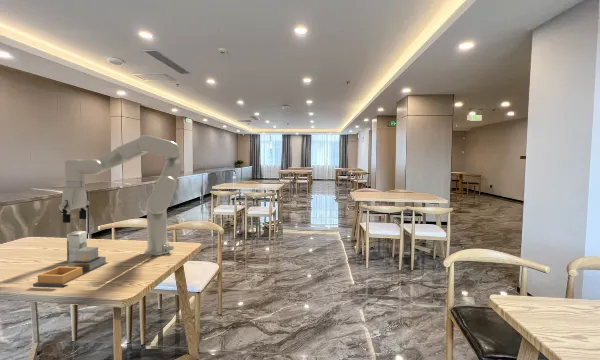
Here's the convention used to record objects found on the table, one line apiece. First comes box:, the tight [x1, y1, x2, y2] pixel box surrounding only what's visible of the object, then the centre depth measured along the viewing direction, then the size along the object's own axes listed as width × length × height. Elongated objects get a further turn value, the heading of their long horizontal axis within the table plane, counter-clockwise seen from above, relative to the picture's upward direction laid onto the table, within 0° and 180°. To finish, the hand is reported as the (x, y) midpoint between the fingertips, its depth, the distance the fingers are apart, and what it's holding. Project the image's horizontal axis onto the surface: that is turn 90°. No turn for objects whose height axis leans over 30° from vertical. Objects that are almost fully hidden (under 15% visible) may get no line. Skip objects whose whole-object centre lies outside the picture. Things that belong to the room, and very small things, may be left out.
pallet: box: [32, 256, 110, 288], centre depth 128 cm, size 26×12×4 cm, turn 177°
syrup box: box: [66, 230, 88, 263], centre depth 144 cm, size 6×6×14 cm
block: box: [75, 246, 99, 263], centre depth 135 cm, size 6×6×8 cm
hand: (75, 220), depth 143 cm, fingers open, 9 cm apart
